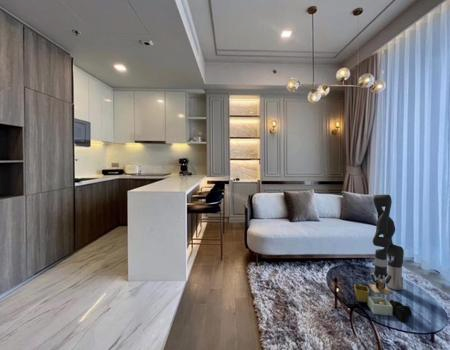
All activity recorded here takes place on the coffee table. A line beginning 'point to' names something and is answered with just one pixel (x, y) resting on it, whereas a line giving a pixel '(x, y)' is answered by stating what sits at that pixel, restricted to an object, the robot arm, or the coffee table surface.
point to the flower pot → (361, 293)
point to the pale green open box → (379, 305)
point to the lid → (380, 288)
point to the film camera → (400, 311)
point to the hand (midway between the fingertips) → (380, 288)
